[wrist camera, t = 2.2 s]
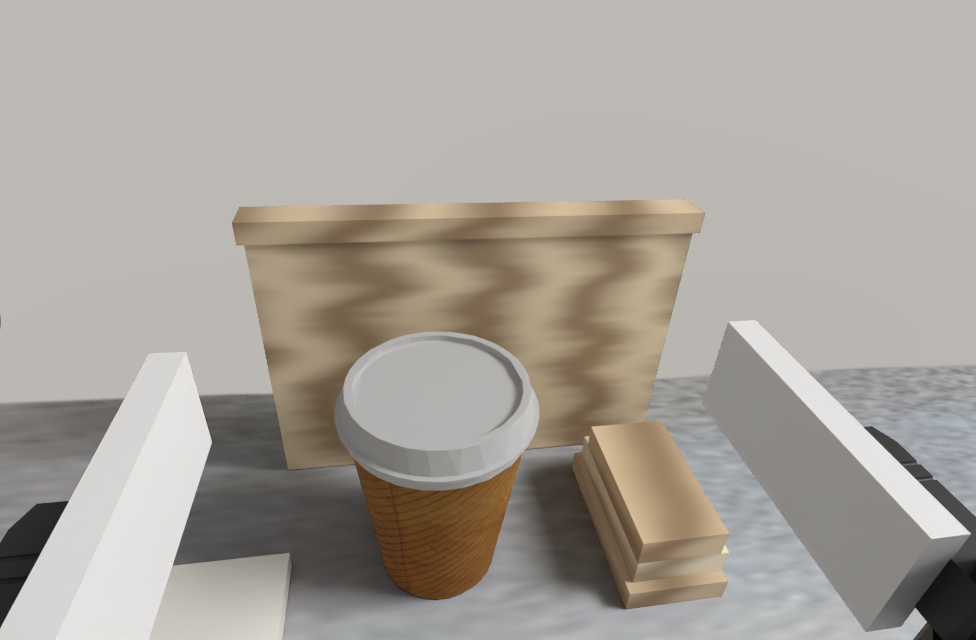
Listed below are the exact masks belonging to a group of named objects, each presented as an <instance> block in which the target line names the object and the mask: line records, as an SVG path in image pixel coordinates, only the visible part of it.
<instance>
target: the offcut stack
mask: <svg viewBox="0 0 976 640" xmlns="http://www.w3.org/2000/svg"><path fill="white" fill-rule="evenodd" d="M572 469H573V471H574V474H575V477H576V479H577V482H578V485H579V487H580V490H581V493H582V495H583V498H584V500H585V503H586V506H587V508H588V511H589V514H590V516H591V519H592V522H593V524H594V527H595V530H596V532H597V535H598V538H599V540H600V543H601V546H602V548H603V551H604V554H605V556H606V559H607V562H608V564H609V567H610V570H611V572H612V575H613V578H614V580H615V583H616V586H617V588H618V591H619V594H620V596H621V599H622V602H623V604H624V607H625V609H632V608H640V607H647V606H655V605H662V604H669V603H677V602H684V601H692V600H699V599H706V598H714V597H721V596H722V595H723V592H724V590H725V588H726V586H727V583H728V579H727V578H726V576H725V574H724V572H723V570H722V568H723V566H724V563H725V561H726V559H727V556H728V554H729V552H728V550H727V548H726V546H725V543H726V541H727V538H728V536H729V532H728V531H727V529H726V527H725V526H724V524H723V522H722V521H721V519H720V517H719V516H718V514H717V512H716V511H715V509H714V507H713V506H712V504H711V502H710V501H709V499H708V497H707V496H706V494H705V492H704V491H703V489H702V487H701V486H700V484H699V482H698V481H697V479H696V477H695V476H694V474H693V472H692V471H691V469H690V467H689V466H688V464H687V462H686V461H685V459H684V457H683V456H682V454H681V452H680V451H679V449H678V447H677V446H676V444H675V442H674V441H673V439H672V437H671V436H670V434H669V432H668V431H667V429H666V427H665V426H664V424H663V422H662V421H654V422H641V423H629V424H617V425H605V426H593V427H591V431H590V436H586V437H584V443H583V448H582V452H579V453H574V459H573V465H572Z"/></svg>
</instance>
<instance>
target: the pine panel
mask: <svg viewBox="0 0 976 640" xmlns="http://www.w3.org/2000/svg"><path fill="white" fill-rule="evenodd" d="M704 216H705V212H704V211H702V210H701V209H700V208H699V207H697V206H696V205H695V204H694V203H693V202H691V201H690V200H689V199H688V200H631V201H572V202H571V201H570V202H515V203H514V202H513V203H512V202H511V203H453V204H395V205H393V204H392V205H336V206H335V205H333V206H273V207H239V210H238V212H237V214H236V216H235V218H234V220H233V222H232V225H233V230H234V236H235V240H236V245H237V246H238V245H244V246H245V251H246V256H247V262H248V267H249V272H250V277H251V282H252V287H253V292H254V298H255V303H256V307H257V313H258V318H259V323H260V328H261V333H262V338H263V343H264V349H265V354H266V359H267V364H268V369H269V374H270V379H271V385H272V389H273V395H274V400H275V405H276V410H277V415H278V420H279V426H280V431H281V436H282V441H283V446H284V451H285V456H286V461H287V466H288V470H294V469H305V468H316V467H328V466H339V465H351V464H355V462H354V458H353V457H352V456H351V454H350V453H349V451H348V450H347V449H346V447H345V446H344V444H343V443H342V441H341V440H340V438H339V435H338V432H337V428H336V425H335V421H334V416H335V405H336V401H337V398H338V396H339V394H340V392H341V390H342V389H343V387H344V382H345V378H346V376H347V374H348V372H349V370H350V369H351V367H352V366H353V365H354V364H355V363H356V361H357V360H358V359H359V358H360V357H362V356H363V355H364V354H365V353H367V352H368V351H369V350H371V349H373V348H375V347H377V346H379V345H381V344H383V343H385V342H387V341H389V340H391V339H394V338H398V337H401V336H404V335H409V334H415V333H422V332H455V333H461V334H467V335H473V336H476V337H479V338H482V339H485V340H488V341H490V342H493V343H495V344H497V345H498V346H500V347H502V348H503V349H505V350H507V351H509V352H510V353H511V354H512V355H513V356H514V357H515V358H516V359H518V360H519V362H520V363H521V364H522V365H523V367H524V368H525V370H526V372H527V374H528V376H529V379H530V385H531V387H532V388H533V390H534V392H535V394H536V397H537V400H538V403H539V421H538V425H537V429H536V432H535V435H534V437H533V438H532V440H531V442H530V444H529V445H528V447H527V448H526V449H533V448H545V447H556V446H568V445H579V444H583V443H584V437H586V436H590V431H591V427H593V426H605V425H617V424H629V423H641V422H644V421H645V417H646V413H647V409H648V405H649V401H650V398H651V394H652V390H653V386H654V382H655V378H656V374H657V370H658V366H659V362H660V358H661V354H662V351H663V347H664V343H665V339H666V335H667V331H668V327H669V323H670V319H671V315H672V311H673V307H674V304H675V300H676V296H677V292H678V288H679V284H680V280H681V276H682V272H683V268H684V264H685V261H686V256H687V253H688V249H689V245H690V240H691V237H692V233H700V231H701V227H702V223H703V219H704Z"/></svg>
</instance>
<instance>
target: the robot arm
mask: <svg viewBox="0 0 976 640" xmlns="http://www.w3.org/2000/svg"><path fill="white" fill-rule="evenodd" d="M0 326H1V318H0ZM703 405H704V406H705V408H706V409H707V410H708V412H709V413H710V415H711V416H712V417H713V419H714V420H715V422H716V423H717V424H718V426H719V427H720V429H721V430H722V431H723V433H724V434H725V436H726V437H727V438H728V440H729V441H730V443H731V444H732V445H733V447H734V448H735V450H736V451H737V452H738V454H739V455H740V457H741V458H742V459H743V461H744V462H745V464H746V465H747V466H748V468H749V469H750V471H751V472H752V473H753V475H754V476H755V478H756V479H757V480H758V482H759V483H760V485H761V486H762V487H763V489H764V490H765V492H766V493H767V494H768V496H769V497H770V499H771V500H772V501H773V503H774V504H775V506H776V507H777V508H778V510H779V511H780V513H781V514H782V515H783V517H784V518H785V520H786V521H787V522H788V524H789V525H790V527H791V528H792V529H793V531H794V532H795V534H796V535H797V536H798V538H799V539H800V541H801V542H802V543H803V545H804V546H805V548H806V549H807V550H808V552H809V553H810V555H811V556H812V557H813V559H814V560H815V562H816V563H817V564H818V566H819V567H820V569H821V570H822V571H823V573H824V574H825V576H826V577H827V578H828V580H829V581H830V583H831V584H832V585H833V587H834V588H835V590H836V591H837V592H838V594H839V595H840V597H841V598H842V599H843V601H844V602H845V604H846V605H847V606H848V608H849V609H850V611H851V612H852V613H853V615H854V616H855V617H856V619H857V620H858V622H859V623H860V624H861V626H862V627H863V629H864V630H865V631H866V632H869V631H875V630H882V629H888V628H894V627H901V626H902V624H903V623H904V622H905V620H906V619H907V618H908V616H909V615H910V614H911V613H912V611H913V610H914V609H915V607H916V609H917V610H918V611H919V612H920V614H921V615H922V616H923V617H924V618H925V620H926V621H927V623H926V624H925V626H924V627H923V628H922V629H921V631H920V632H919V633H918V634H917V636H916V637H915V638H914V639H913V640H976V517H975V516H974V515H973V514H972V513H971V512H970V511H969V510H968V509H967V508H966V507H965V506H964V505H963V504H961V503H960V502H959V501H958V500H957V499H956V498H955V497H954V496H953V495H952V494H951V493H950V492H949V491H948V490H947V489H946V488H945V487H944V486H943V485H942V484H941V483H939V482H938V481H937V480H933V478H932V477H933V476H932V475H931V474H930V473H929V472H928V471H927V470H926V469H925V468H924V467H923V466H922V465H921V464H920V465H918V464H917V462H916V460H915V459H914V458H913V457H912V456H911V455H910V454H909V453H908V452H907V451H906V450H905V449H904V448H903V447H902V446H901V445H900V444H899V443H898V442H896V441H895V440H893V439H891V438H890V437H888V436H886V435H885V434H883V433H882V432H880V431H878V430H877V429H875V428H874V427H872V426H871V427H863V426H862V425H861V424H860V423H859V422H858V421H857V420H856V419H855V418H854V417H853V416H851V415H850V414H849V413H848V412H847V411H846V410H845V409H844V408H843V407H842V406H841V405H840V404H839V403H838V402H837V401H836V400H835V399H834V398H833V397H832V396H831V395H830V394H829V393H828V392H827V391H826V390H825V389H824V388H823V387H822V386H821V385H820V384H819V383H818V382H817V381H816V380H815V379H814V378H813V377H812V376H811V375H810V374H809V373H808V372H807V371H806V370H805V369H804V368H803V367H802V366H801V365H800V364H799V363H798V362H797V361H796V360H795V359H794V358H793V357H792V356H791V355H790V354H789V353H788V352H787V351H786V350H785V349H784V348H783V347H782V346H781V345H780V344H778V342H777V341H776V340H775V339H774V338H773V337H772V336H771V335H770V334H769V333H768V332H766V330H765V329H764V328H763V327H762V326H760V324H758V323H757V321H756V320H752V321H735V322H728V324H727V328H726V331H725V334H724V337H723V340H722V343H721V347H720V350H719V353H718V356H717V359H716V362H715V366H714V369H713V372H712V375H711V378H710V381H709V384H708V388H707V391H706V394H705V397H704V400H703ZM211 444H212V441H211V437H210V434H209V430H208V427H207V423H206V419H205V416H204V412H203V409H202V405H201V402H200V398H199V395H198V391H197V388H196V384H195V381H194V378H193V374H192V370H191V367H190V363H189V360H188V357H187V353H186V352H173V353H155V354H149V355H148V357H147V358H146V360H145V362H144V364H143V366H142V368H141V369H140V372H139V373H138V375H137V377H136V379H135V381H134V382H133V384H132V386H131V388H130V390H129V392H128V393H127V395H126V397H125V399H124V401H123V403H122V404H121V406H120V408H119V410H118V412H117V414H116V416H115V417H114V419H113V421H112V423H111V425H110V427H109V428H108V430H107V432H106V434H105V436H104V438H103V440H102V441H101V443H100V445H99V447H98V449H97V451H96V452H95V454H94V456H93V458H92V460H91V462H90V464H89V465H88V467H87V469H86V471H85V473H84V475H83V476H82V478H81V480H80V482H79V484H78V486H77V488H76V489H75V491H74V493H73V495H72V497H71V499H70V500H69V501H64V502H53V503H42V504H36V505H35V506H34V507H33V508H32V509H31V510H30V511H28V512H27V513H26V514H25V515H24V516H23V517H22V518H21V519H20V520H19V521H17V522H16V523H15V524H14V525H13V526H12V527H11V528H10V529H9V530H8V531H7V533H6V535H5V536H4V538H3V539H2V541H1V543H0V640H149V637H150V634H151V631H152V628H153V625H154V622H155V619H156V615H157V612H158V609H159V606H160V603H161V600H162V597H163V594H164V590H165V587H166V584H167V581H168V578H169V575H170V572H171V569H172V565H173V562H174V559H175V556H176V553H177V550H178V547H179V544H180V541H181V537H182V534H183V531H184V528H185V525H186V522H187V519H188V516H189V512H190V509H191V506H192V503H193V500H194V497H195V494H196V491H197V487H198V484H199V481H200V478H201V475H202V472H203V469H204V466H205V462H206V459H207V456H208V453H209V450H210V447H211Z"/></svg>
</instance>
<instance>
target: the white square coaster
mask: <svg viewBox="0 0 976 640" xmlns="http://www.w3.org/2000/svg"><path fill="white" fill-rule="evenodd" d="M291 569H292V562H291V557H290V553H283V554H274V555H265V556H256V557H247V558H238V559H229V560H219V561H210V562H201V563H192V564H183V565H174V566H172V569H171V572H170V575H169V578H168V581H167V584H166V587H165V590H164V594H163V597H162V600H161V603H160V606H159V609H158V612H157V615H156V619H155V622H154V625H153V628H152V631H151V634H150V637H149V640H282V639H283V631H284V623H285V615H286V607H287V600H288V592H289V584H290V576H291Z"/></svg>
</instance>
